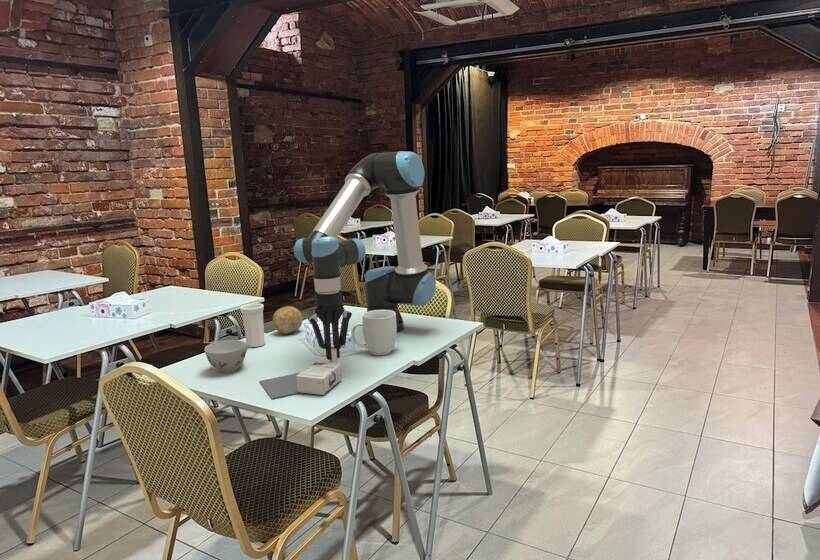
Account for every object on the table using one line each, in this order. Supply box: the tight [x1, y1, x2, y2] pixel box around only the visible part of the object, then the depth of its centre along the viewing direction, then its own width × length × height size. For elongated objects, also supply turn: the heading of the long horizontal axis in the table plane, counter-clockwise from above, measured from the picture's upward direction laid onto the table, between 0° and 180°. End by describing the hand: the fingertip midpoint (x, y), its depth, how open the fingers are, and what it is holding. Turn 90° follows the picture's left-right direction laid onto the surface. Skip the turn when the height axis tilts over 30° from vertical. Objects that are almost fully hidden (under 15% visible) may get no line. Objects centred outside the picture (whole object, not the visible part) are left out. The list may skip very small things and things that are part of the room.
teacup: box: [204, 339, 249, 374], centre depth 181 cm, size 15×12×8 cm
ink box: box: [296, 361, 343, 396], centre depth 162 cm, size 9×5×12 cm
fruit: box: [272, 305, 303, 335], centre depth 216 cm, size 10×11×10 cm
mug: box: [351, 310, 398, 356], centre depth 189 cm, size 15×11×13 cm
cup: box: [239, 303, 266, 348], centre depth 203 cm, size 8×8×14 cm
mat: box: [259, 371, 336, 400], centre depth 166 cm, size 18×15×1 cm
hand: (334, 369), depth 171 cm, fingers closed
